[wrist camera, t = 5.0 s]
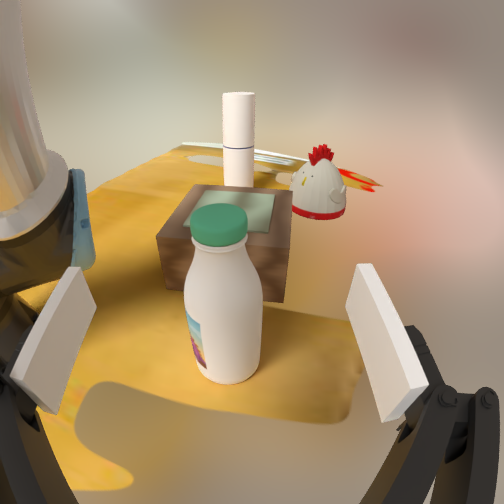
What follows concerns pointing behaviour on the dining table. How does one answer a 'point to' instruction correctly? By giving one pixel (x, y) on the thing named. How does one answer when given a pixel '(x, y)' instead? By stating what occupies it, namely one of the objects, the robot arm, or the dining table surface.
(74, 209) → the robot arm
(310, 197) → the kitchen timer
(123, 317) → the dining table surface
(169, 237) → the walnut stand
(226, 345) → the milk bottle
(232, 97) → the cylindrical container
